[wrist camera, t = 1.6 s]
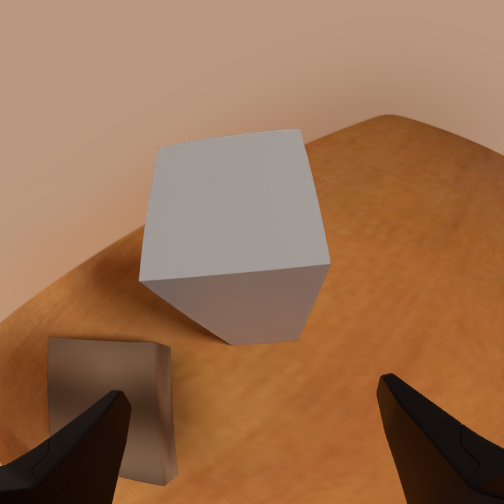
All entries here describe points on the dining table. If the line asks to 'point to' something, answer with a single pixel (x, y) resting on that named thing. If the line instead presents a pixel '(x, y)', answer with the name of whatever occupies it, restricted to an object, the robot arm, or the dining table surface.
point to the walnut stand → (135, 388)
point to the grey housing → (236, 235)
